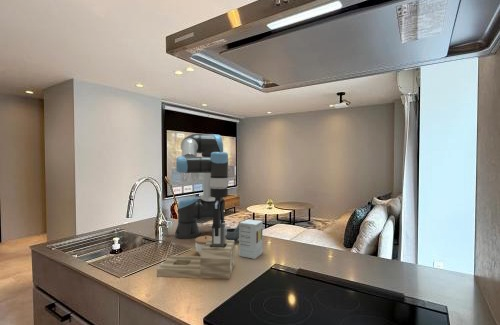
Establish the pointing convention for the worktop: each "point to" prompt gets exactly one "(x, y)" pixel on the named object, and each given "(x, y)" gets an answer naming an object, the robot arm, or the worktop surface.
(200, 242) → the lidded jar
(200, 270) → the dock
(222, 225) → the plug
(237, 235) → the mortar and pestle
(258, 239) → the supplement box
